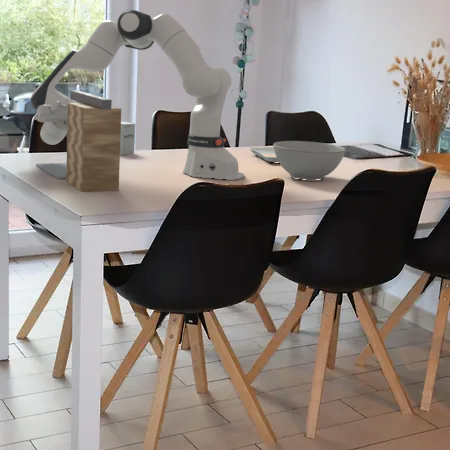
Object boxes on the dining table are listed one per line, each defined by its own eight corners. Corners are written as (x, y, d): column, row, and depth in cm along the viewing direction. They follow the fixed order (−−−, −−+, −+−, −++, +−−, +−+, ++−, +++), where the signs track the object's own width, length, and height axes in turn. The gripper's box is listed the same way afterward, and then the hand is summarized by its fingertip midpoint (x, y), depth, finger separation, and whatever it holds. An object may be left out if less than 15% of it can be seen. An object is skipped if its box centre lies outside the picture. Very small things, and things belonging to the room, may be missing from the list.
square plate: (327, 167, 329) (328, 157, 328) (265, 165, 322) (266, 156, 321) (305, 156, 354) (306, 147, 353) (247, 154, 347) (247, 146, 346)
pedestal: (66, 182, 260) (67, 102, 254) (100, 180, 266) (103, 103, 259) (82, 191, 246) (84, 108, 240) (118, 190, 252) (121, 108, 246)
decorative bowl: (350, 177, 304) (353, 146, 301) (330, 188, 280) (333, 154, 277) (285, 169, 314) (287, 138, 311) (260, 178, 290) (262, 145, 287)
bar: (70, 99, 265) (70, 90, 264) (78, 99, 266) (78, 90, 266) (102, 109, 240) (102, 99, 239) (111, 109, 241) (111, 99, 241)
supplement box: (122, 155, 322) (123, 124, 319) (109, 152, 326) (110, 122, 323) (134, 153, 327) (135, 123, 324) (121, 151, 332) (122, 121, 329)
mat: (36, 165, 285) (36, 163, 285) (73, 164, 292) (73, 162, 292) (58, 179, 263) (58, 177, 263) (98, 178, 270) (98, 175, 270)
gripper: (31, 111, 275) (41, 94, 264) (87, 111, 285) (99, 95, 273) (33, 128, 274) (43, 112, 262) (89, 128, 284) (102, 112, 272)
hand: (72, 103), depth 268 cm, fingers open, 8 cm apart
